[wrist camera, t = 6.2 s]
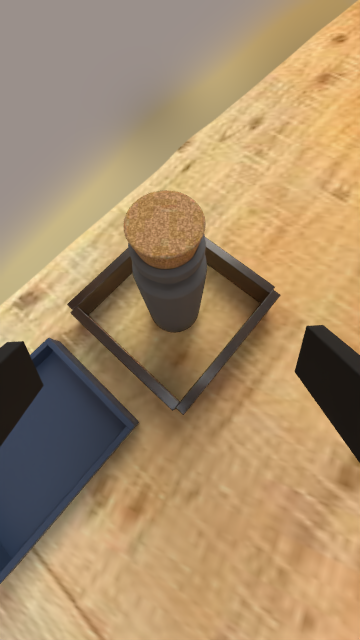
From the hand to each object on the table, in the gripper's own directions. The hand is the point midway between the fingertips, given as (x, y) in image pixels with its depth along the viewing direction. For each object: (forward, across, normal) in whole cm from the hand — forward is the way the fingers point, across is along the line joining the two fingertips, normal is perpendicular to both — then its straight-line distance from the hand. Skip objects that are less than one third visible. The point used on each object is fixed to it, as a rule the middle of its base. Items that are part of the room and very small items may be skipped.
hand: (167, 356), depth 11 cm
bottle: (+16, 0, -5) cm, 17 cm away
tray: (+6, -14, -15) cm, 21 cm away
